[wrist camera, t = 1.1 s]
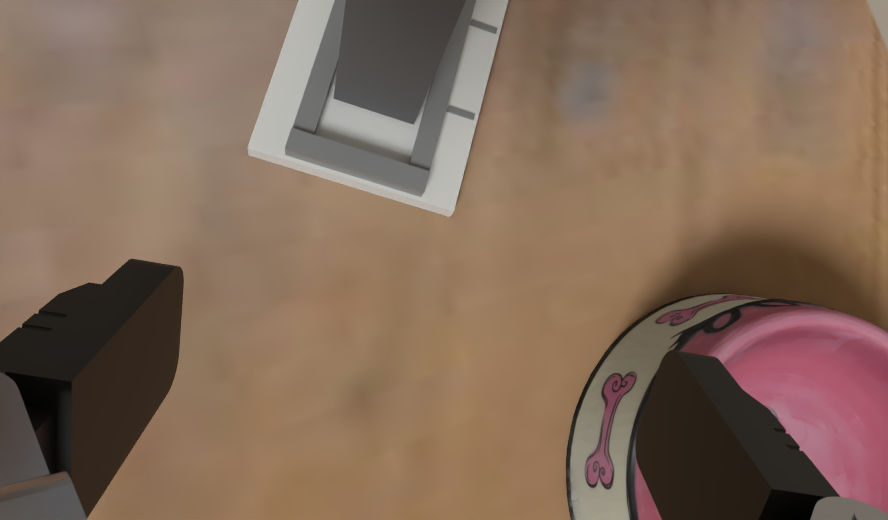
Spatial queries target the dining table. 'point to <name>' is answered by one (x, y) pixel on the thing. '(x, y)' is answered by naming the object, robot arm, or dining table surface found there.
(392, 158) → the fader console
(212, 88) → the dining table surface
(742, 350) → the dog bowl
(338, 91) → the fader tab
